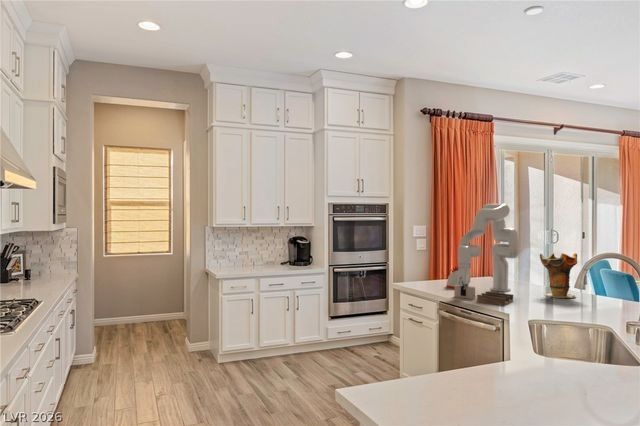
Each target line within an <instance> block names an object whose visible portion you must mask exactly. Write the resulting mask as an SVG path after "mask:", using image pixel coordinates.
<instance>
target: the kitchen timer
mask: <svg viewBox="0 0 640 426" xmlns="http://www.w3.org/2000/svg"><path fill="white" fill-rule="evenodd" d="M452 269H453V270H452ZM450 271H451V273H450V274H449V275H448V277H447V280H446V288H447V289H451V290H452V289H453V290H454V286H455V285H459V284H458V283H457V277H458V265H457V266H456V265H455V267H453V268H451V269H450ZM462 284H463V283H462Z"/></svg>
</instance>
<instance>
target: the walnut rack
mask: <svg viewBox="0 0 640 426" xmlns="http://www.w3.org/2000/svg"><path fill="white" fill-rule="evenodd" d="M476 300H477V301H476V302H477V303H482V302H483V303H482V304H489V303H491V304H490V305H497V304H500V305H499V306H504V305H505V306H508V305H509V304H511V303H514V294H510V293H503V292H502V293H501V292H493V291H485V293H483V292H481V294H477V295H476Z"/></svg>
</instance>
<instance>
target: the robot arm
mask: <svg viewBox="0 0 640 426" xmlns="http://www.w3.org/2000/svg"><path fill="white" fill-rule="evenodd" d="M510 212H511V211H510V207H509V205H508V204H506V203H486V204H484V205H483V207H482V208H481V209H479V210H478V211H477V212H476V215H475V217H474V220H473V224H472V227H471V228H470V229H469V230H468V231H467V232H466V233H464V235H463V236H462V237H461V239H460V241H459V244H458V247H457V266H458V277H457V283H458V284H459V286H460V289H461V296H466V290H465V286H470V285H469V284H470V283H471V269H472V267H471V266H472V260H471V259H472V258H478V257H480V256H481V255H482V252H483V251H482V248H481V247H480V246H479V245H477V244H476V245H475V244H469V243H470V242H471V241H472V240H474V239H476V238H479V237H481V236H483V235H485V234H486V230H487V228H488V224H489V223H491V230H492V231H491V232H492V238H493V240H494V241H495V242H497V243H493V245H492V246H491V255H492V286H491V287H490V290H491V291H495V292H510V291H511V288H510V287H509V262H508V260H507V259H517V258H519V255H520V242H519V234H518V231H517V230H516V228H513V227H507V226H506V221H505V219H506V218H507V217H508V216H509V215H510ZM500 242H501V243H500ZM462 283H463V284H462Z"/></svg>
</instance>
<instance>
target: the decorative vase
mask: <svg viewBox="0 0 640 426" xmlns="http://www.w3.org/2000/svg"><path fill="white" fill-rule="evenodd" d="M539 259H540V261H541V264H542V265H543V266H544V267H545V269H547V272H548V280H549V285H548V286H549V288H550V290H551V291H550V292H551V293H549V289H548V293H545V294H544V296H546V297H548V298H549V297H550V298H557V299H558V298H559V299H567V298H568V299H572V298H576V297H577V296H576V295H575V294H570V293H569V290H570V291H571V289H570V288H571V286H570V279H571V278H570V274H571V271H572V268H573V267H574V266H576V265H577V264H578V254H577V253H576V252H574V253H573V254H572V255H571V256H570V255H568V254H565V253H561V254H560V257H556V256H555V253H551V255H550V256H547V257H544V255H543V254H542V253H539Z"/></svg>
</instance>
